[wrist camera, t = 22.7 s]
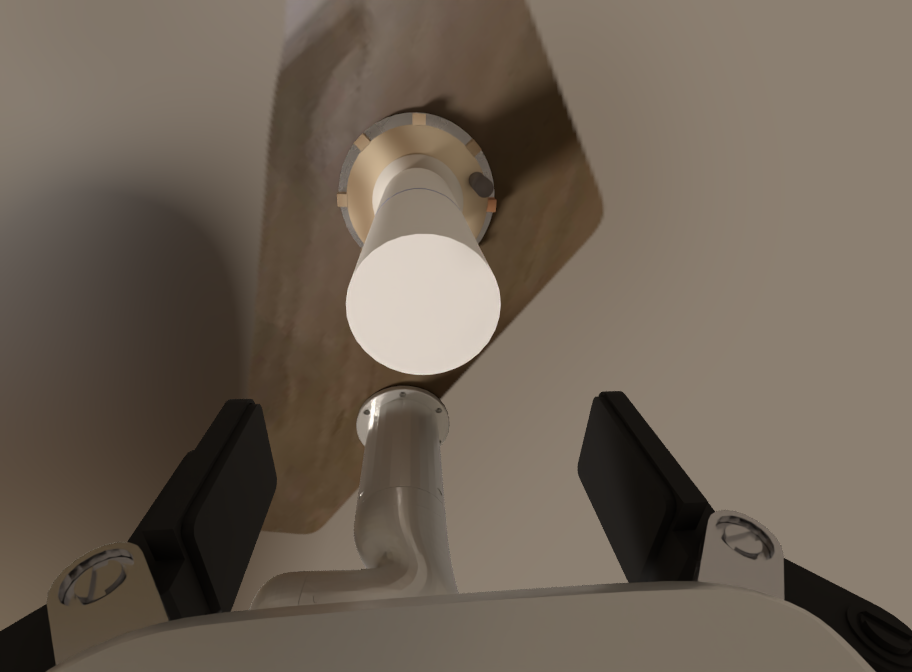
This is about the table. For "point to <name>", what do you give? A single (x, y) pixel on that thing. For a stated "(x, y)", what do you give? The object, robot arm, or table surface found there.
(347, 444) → the table surface
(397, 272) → the cylindrical container
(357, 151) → the dial base
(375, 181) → the dial
